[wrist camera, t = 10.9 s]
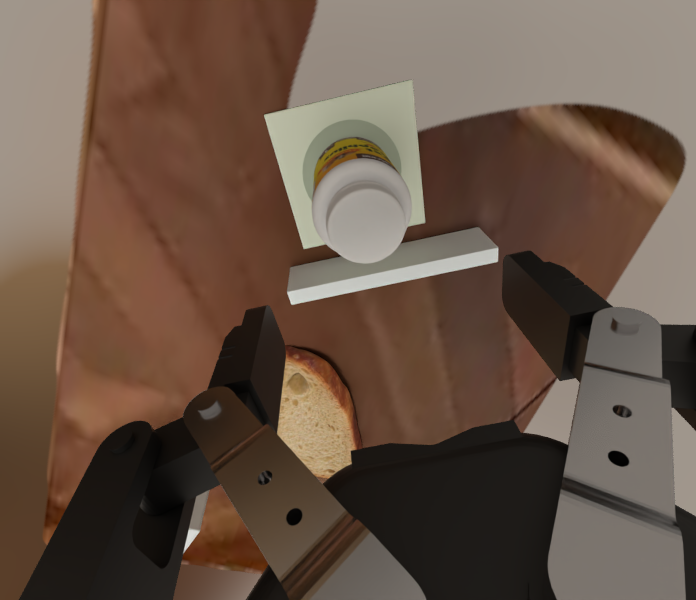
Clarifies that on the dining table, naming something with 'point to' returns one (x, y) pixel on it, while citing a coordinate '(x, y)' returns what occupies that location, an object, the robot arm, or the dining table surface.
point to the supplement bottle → (359, 201)
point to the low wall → (392, 265)
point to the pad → (340, 122)
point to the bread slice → (317, 414)
